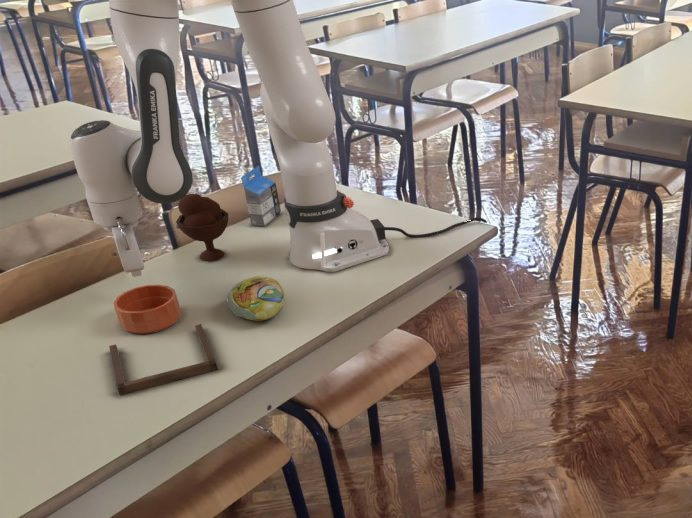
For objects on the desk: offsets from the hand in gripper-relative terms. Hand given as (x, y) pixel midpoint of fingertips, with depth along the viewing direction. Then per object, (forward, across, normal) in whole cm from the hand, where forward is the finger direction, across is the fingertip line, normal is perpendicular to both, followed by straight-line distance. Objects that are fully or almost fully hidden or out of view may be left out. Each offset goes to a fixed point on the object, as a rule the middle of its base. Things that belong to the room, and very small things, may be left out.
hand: (136, 273), depth 154 cm
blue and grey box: (+6, +29, -32) cm, 43 cm away
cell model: (+6, -16, -20) cm, 27 cm away
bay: (+6, -26, 0) cm, 27 cm away
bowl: (+6, -10, 0) cm, 12 cm away
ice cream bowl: (+6, +14, -16) cm, 22 cm away
